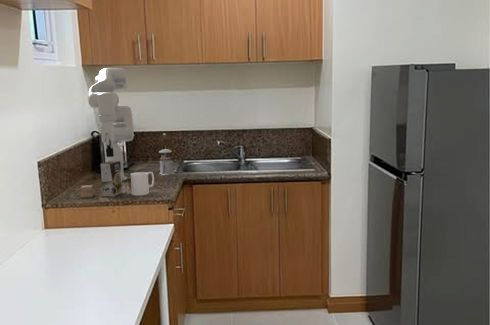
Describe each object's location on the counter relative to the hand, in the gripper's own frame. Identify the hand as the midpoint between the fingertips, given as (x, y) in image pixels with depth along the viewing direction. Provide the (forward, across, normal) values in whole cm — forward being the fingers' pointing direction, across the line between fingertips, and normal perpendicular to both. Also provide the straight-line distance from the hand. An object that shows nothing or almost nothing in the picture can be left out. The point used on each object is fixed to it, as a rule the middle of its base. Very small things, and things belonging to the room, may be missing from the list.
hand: (110, 156), depth 228 cm
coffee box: (+19, +1, 0) cm, 19 cm away
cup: (+19, +2, +15) cm, 24 cm away
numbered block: (+19, +1, -12) cm, 22 cm away
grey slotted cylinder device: (+20, -53, +26) cm, 63 cm away
